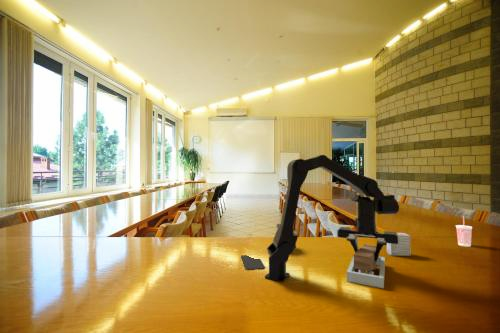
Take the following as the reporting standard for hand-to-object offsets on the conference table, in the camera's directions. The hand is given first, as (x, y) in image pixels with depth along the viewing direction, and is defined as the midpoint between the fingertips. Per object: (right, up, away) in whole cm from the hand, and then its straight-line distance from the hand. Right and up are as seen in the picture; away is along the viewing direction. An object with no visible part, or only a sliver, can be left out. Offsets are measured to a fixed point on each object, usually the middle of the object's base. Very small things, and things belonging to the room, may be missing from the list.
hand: (367, 259), depth 87 cm
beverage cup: (+62, -6, +33) cm, 70 cm away
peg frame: (0, -4, 0) cm, 4 cm away
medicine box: (+22, -5, +19) cm, 30 cm away
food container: (-25, -6, +30) cm, 39 cm away
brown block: (0, -1, 0) cm, 1 cm away
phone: (-40, -6, +11) cm, 41 cm away
